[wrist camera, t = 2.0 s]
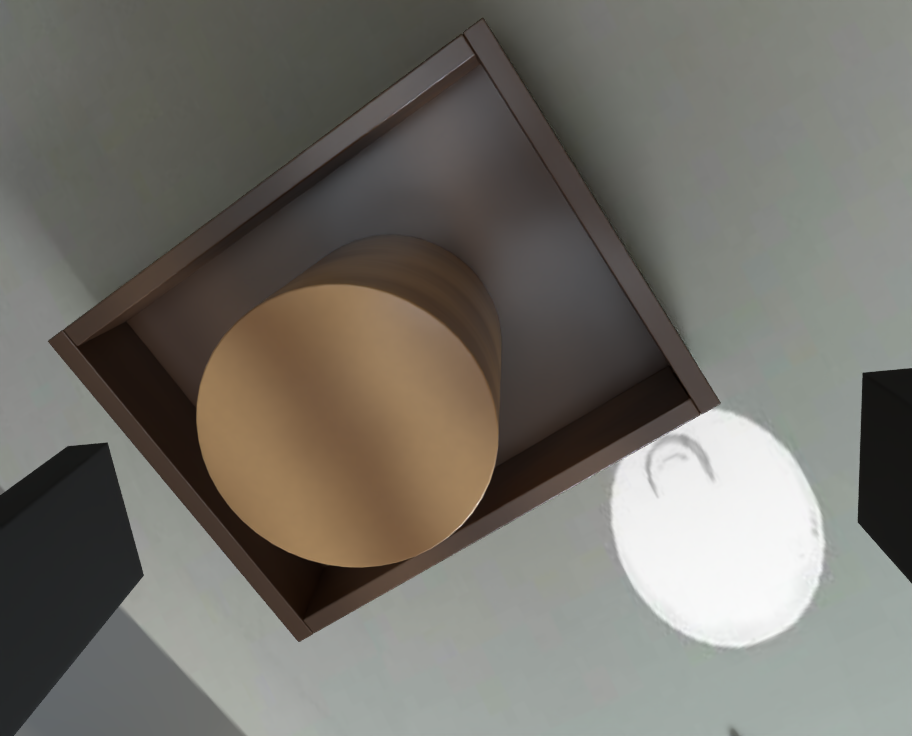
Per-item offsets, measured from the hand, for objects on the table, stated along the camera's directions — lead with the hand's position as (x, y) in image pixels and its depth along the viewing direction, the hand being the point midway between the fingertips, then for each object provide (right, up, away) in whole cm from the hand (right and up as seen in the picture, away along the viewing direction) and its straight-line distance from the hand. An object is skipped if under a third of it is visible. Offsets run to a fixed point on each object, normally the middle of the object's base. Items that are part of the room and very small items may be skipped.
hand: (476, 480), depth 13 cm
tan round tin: (-3, +3, +19) cm, 19 cm away
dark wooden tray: (-3, +3, +19) cm, 19 cm away
